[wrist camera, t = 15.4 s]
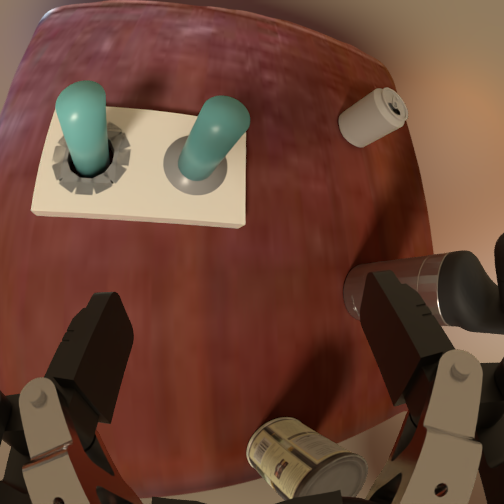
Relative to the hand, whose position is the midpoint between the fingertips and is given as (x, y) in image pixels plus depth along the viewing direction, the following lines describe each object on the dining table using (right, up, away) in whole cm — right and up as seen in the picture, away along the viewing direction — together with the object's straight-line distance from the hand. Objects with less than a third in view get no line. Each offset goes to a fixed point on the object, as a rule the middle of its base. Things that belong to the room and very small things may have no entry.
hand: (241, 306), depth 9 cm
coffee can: (+4, -27, +28) cm, 39 cm away
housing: (-13, +12, +25) cm, 31 cm away
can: (+19, +24, +41) cm, 51 cm away
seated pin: (-7, +12, +28) cm, 31 cm away
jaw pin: (-19, +13, +22) cm, 32 cm away
